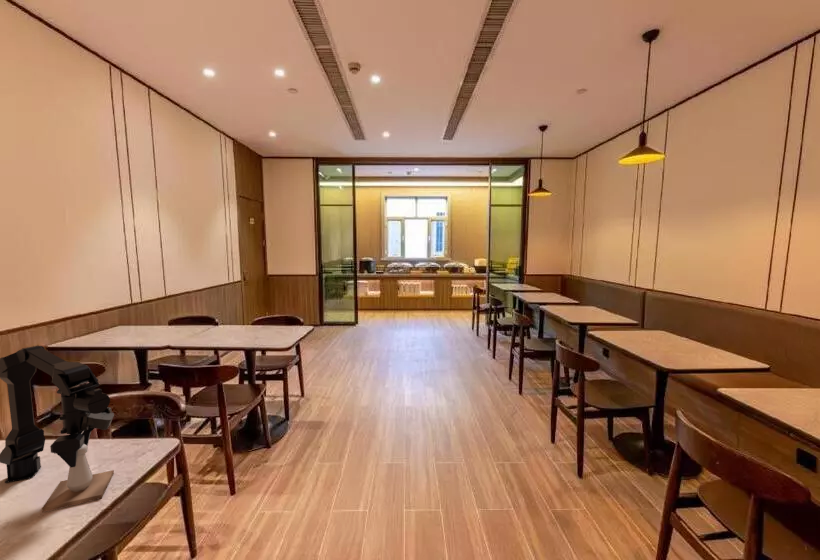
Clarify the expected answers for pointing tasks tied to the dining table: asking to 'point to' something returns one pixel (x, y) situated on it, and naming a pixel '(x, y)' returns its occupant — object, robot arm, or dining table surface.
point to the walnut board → (67, 497)
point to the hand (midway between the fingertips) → (78, 458)
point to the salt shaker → (80, 472)
